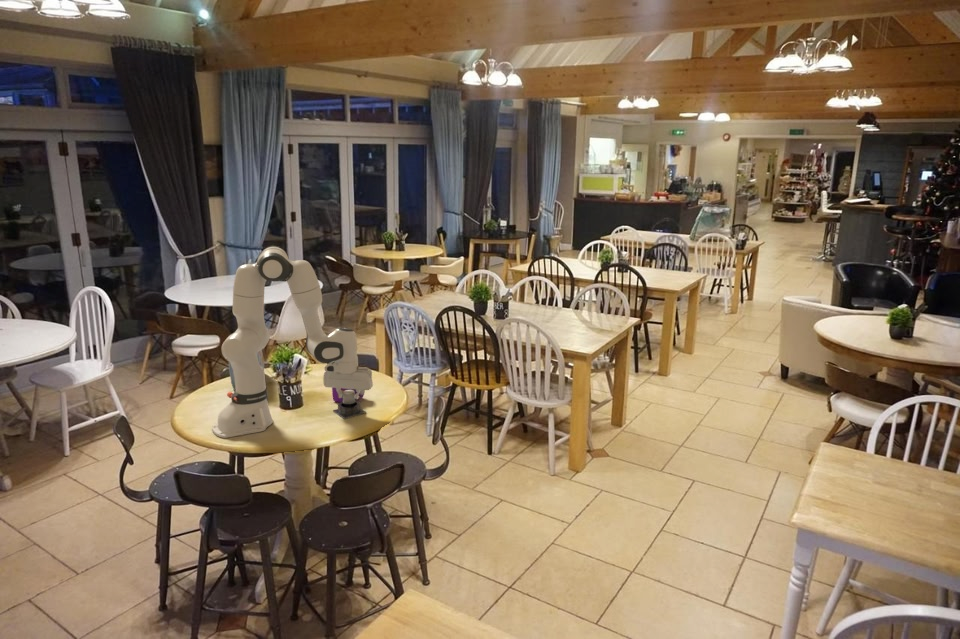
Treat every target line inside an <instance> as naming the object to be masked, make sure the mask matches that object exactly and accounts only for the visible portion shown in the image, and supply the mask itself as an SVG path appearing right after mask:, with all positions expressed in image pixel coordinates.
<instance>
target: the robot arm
mask: <svg viewBox="0 0 960 639" xmlns="http://www.w3.org/2000/svg"><path fill="white" fill-rule="evenodd" d="M316 274H317V273H316V272H315V270H314V268H313V266H312V265H311V263H310V262H309V261H307V260H303V259H299V260H297V259H296V260H291V259H289V254H288V252H287V251H286V250H285V249H284V248H283V247H281V246H278V245H269V246H266V247H265V248H263V249H262V251H260V253H259V255H258V256H257V257H256V259H255V261H254V263H245V264H241V265H240V266H238V268H237V269H236V272H235V275H234V281H233V290H232V314H233V316H234V317H235V318H236V322H237V329H236V330H237V331H236V330H235V331H236V332H235V331H234V332H233V333H231V334H229V335H228V337H226V339H225V340H224V341H223V343H222V345H221V347H220V348H221V354H222V356H223V358H224V359H225V360H226V361H228V363H229V362H230V364H231V366H232V369H233V372H234V378H235V386H236V390H234V392H232V391H228V392H227V397H228V398H229V399H231V402H229V403H228V404H227V405H226V406H225V407H224V408H223V409H222V410H220V412H219V413H218V416H217V423H214V424H213V425H212V427H211V431H212V433H213V434H214V435H215V436H217V437H218V438H222V439H227V438H232V437H237V436H238V437H239V436H243V435H249V434H255V433H260V432H264V431H266V429H267V428H268V427H269V426H271V425H272V424H273V422H274V419H273V417H272V414H271V411H270V407H269V402H268V401H269V394H268V393H269V392H268V387H267V386H266V377H265V376H266V374H265V368H264V369H263V367H261V366H260V364H259V362H258V359H257V352H259V351H260V350H262V351H263V349H265V347H266V346H267V345H268V343H269V341H270V338H271V333H270V330H269V329H268V327H266V326H267V325H266V320H265V316H264V314H265V313H264V308H265V305H264V304H265V287H266V282H267V281H268V282H281V283H282V282H284V283H285V282H286V283H287V285H288V288H289V290H290V294H291V297H292V300H293V302H294V304H295V307H297V309H298V311H299V313H300V315H301V318H302V321H303V325H304V327H305V333H306V339H305V349H306V350H307V352H308V353H309V354H310V355H311V356H312V357H314V359H315V360H316V361H318V362H319V363H321V364H326V365H325V366H324V373H323V378H322V379H323V381H322V382H323V386H324V387H325V388H331V389H332V388H336V391H337V392H338V394H339V398H343V394H342V392H341V390H340V389H341V388H344V389H356V392H357V393H356V394H355V395H354V399H355V400H359V398H360V397H359V393H360V391H361V390H365V391H370V390H371V389H372V388H373V386H374V384H373V382H374V381H373V372H372V370H371V368H369V367H366V366H364V367H363V366H359V357H358V353H357V352H358V340H357V339H358V338H357V334H356V332H355V330H354V329H353V328H351V327H348V326H337V327H336V328H335V329H334V330H333V331H332V332H330V333H329V334H327V333H326V332H325V331H324V329H323V327H322V323H321V319H320V316H319V308H320V306H321V305H322V303H323V293H322V288H321V286H320V282H319V280H318V276H317V275H316Z"/></svg>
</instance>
